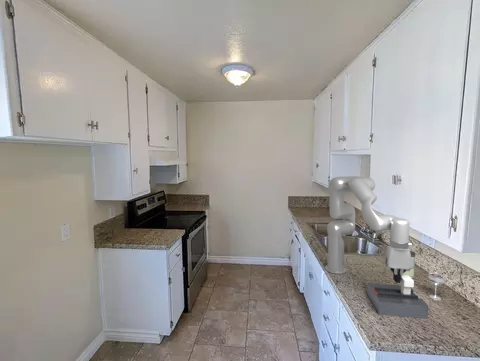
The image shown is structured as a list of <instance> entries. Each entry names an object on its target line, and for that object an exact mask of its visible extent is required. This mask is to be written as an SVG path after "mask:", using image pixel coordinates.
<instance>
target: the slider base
mask: <svg viewBox="0 0 480 361" xmlns="http://www.w3.org/2000/svg"><path fill="white" fill-rule="evenodd" d="M366 289H367V291H366V294H367V296H368V298H369V299H370V301H371V303H372V305H373V306H374V308H375V310H376V312H378V314H379V315H382V316H383V315H384V316H385V315H386V316H393V317H406V318H415V319H427V320H428V318H429V305H428V304H427V303H426V302H425V301H424V300H423V298H422V297H421V296H420V295H419V294H418V293H417V292H416V291H415V290H414V289H413V287H411V293H410V295H408V294H402V293H401V284H399V285H398V284H387V283H373V282H372V283H371V282H368V283H367V288H366Z"/></svg>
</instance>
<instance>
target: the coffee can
mask: <svg viewBox="0 0 480 361" xmlns="http://www.w3.org/2000/svg"><path fill="white" fill-rule="evenodd" d="M410 254H411V268H410V269H411V270H410V271H406V272H404V273H403V275H408V276H409V277H410V278H411V279H413V278H414V277H415V265H416V264H415V263H416V252H414V251H412V250H410ZM397 272H398V269H397Z"/></svg>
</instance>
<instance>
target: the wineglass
mask: <svg viewBox="0 0 480 361" xmlns="http://www.w3.org/2000/svg"><path fill="white" fill-rule="evenodd" d="M427 278H428V281H429V282H430V283H431V284H432V285H433V286H434V295H433V294H429V298H430V299H432V300H435V301H441V300H442V298H441V297H440V296H438V295H437V288H438V286H442V285H444V284H445V283H446V282H445V281H446V280H445V279H446V276H445V275H444V274H442V273H440V272H434V271H430V272H428V277H427Z"/></svg>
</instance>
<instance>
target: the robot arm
mask: <svg viewBox="0 0 480 361" xmlns="http://www.w3.org/2000/svg"><path fill="white" fill-rule="evenodd" d="M327 185H328V186H327V187H328V188H327V190H328V195H329V216H330V218H332V219H334V220H332V221H330V222H328V224H327V225H326V232H327V237H328V239H327V241H328V242H327V244H328V246H327V264H326V265H325V266H324V269H325V271H327V272H328V273H332V274H335V275H342V274H346V272H347V268H346V267H345V264H344V263H345V241H344V239H343V236H350V235H352V234H354V232H355V231H356V210H355V207H354V205H353V204H352V203H349V202H345V196H344V194H343V191H351V192H352V193H353V194H354V196H355V197H356V198H357V200H358V202H359V203H360V205H361V208H360V210H361V216H362V217H363V220H364V222H365V223H366V224H367V226H369V228H370V229H371V230H372V231H375V232H384V231H385V232H386V231H390V233H389V235H390V236H389V245H387V246H386V247H387V248H386V251H385V256H384V264H385V270H387V271H391V272H392V274H393V276H392V277H393V278H392V280H393V281H394V282H395V283H396V284H401V283H400V281H401V276H402V275H403V273H404V272H406V271H410V270H411V269H410V268H411V254H410V251H411V249H410V246H412V242H409V241H410V240H409V239H410V221H409V220H408V219H406V218H403V217H402V218H401V217H397V216H396V215H393V214H383V215H382V214H381V215H377V214H376V213H375V211H374V210H373V208H372V205H374V204H375V202H376V201H377V200H378V197H377V195H376V193H374V190H375V188H376V183H375V180H374V179H373V178H372V177H369V176H357V175H356V176H354V175H353V176H336V177H333V178H331V179H330V180H329V182H328V184H327ZM340 219H341V220H340ZM397 269H398V272H397Z"/></svg>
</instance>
